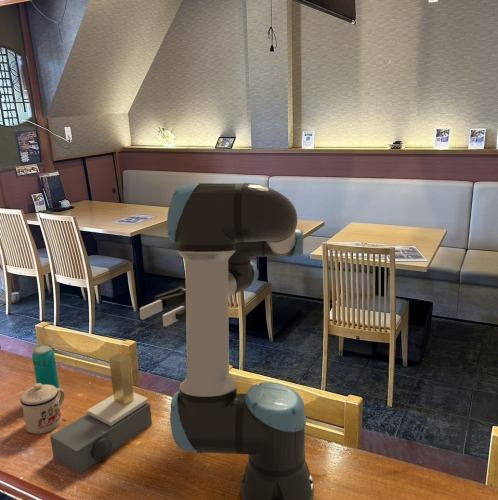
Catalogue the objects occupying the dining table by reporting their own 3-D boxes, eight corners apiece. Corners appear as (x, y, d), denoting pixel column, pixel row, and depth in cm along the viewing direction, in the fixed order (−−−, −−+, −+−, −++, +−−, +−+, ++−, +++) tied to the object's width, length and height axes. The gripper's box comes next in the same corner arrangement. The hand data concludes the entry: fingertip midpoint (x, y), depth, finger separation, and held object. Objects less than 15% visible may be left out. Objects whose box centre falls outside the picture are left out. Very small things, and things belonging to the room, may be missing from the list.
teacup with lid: (42, 439, 126) (35, 397, 123) (17, 429, 130) (10, 389, 127) (78, 413, 136) (72, 374, 133) (54, 405, 140) (48, 367, 137)
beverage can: (44, 390, 148) (36, 344, 144) (63, 390, 148) (56, 343, 144) (35, 401, 142) (27, 353, 138) (55, 401, 142) (48, 353, 138)
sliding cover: (124, 391, 134) (119, 347, 131) (148, 402, 129) (143, 355, 125) (87, 413, 125) (80, 366, 121) (110, 425, 120) (104, 376, 116)
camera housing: (125, 412, 136) (123, 392, 134) (155, 425, 130) (153, 405, 128) (53, 457, 119) (49, 435, 117) (83, 476, 113) (79, 452, 111)
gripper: (246, 308, 130) (185, 342, 112) (189, 294, 141) (125, 323, 123) (245, 280, 128) (182, 311, 110) (187, 268, 139) (122, 294, 121)
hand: (152, 317), depth 117 cm, fingers open, 7 cm apart
